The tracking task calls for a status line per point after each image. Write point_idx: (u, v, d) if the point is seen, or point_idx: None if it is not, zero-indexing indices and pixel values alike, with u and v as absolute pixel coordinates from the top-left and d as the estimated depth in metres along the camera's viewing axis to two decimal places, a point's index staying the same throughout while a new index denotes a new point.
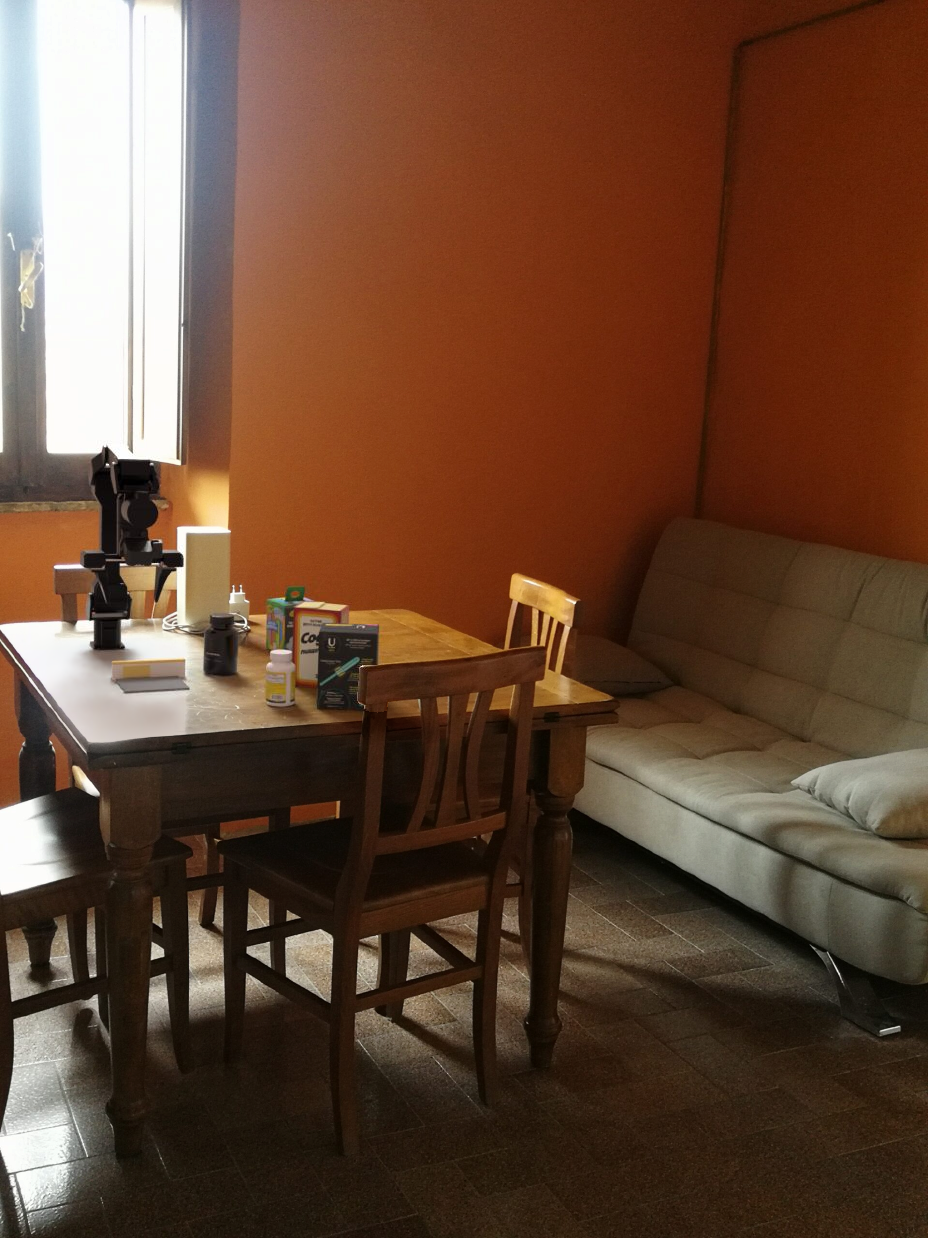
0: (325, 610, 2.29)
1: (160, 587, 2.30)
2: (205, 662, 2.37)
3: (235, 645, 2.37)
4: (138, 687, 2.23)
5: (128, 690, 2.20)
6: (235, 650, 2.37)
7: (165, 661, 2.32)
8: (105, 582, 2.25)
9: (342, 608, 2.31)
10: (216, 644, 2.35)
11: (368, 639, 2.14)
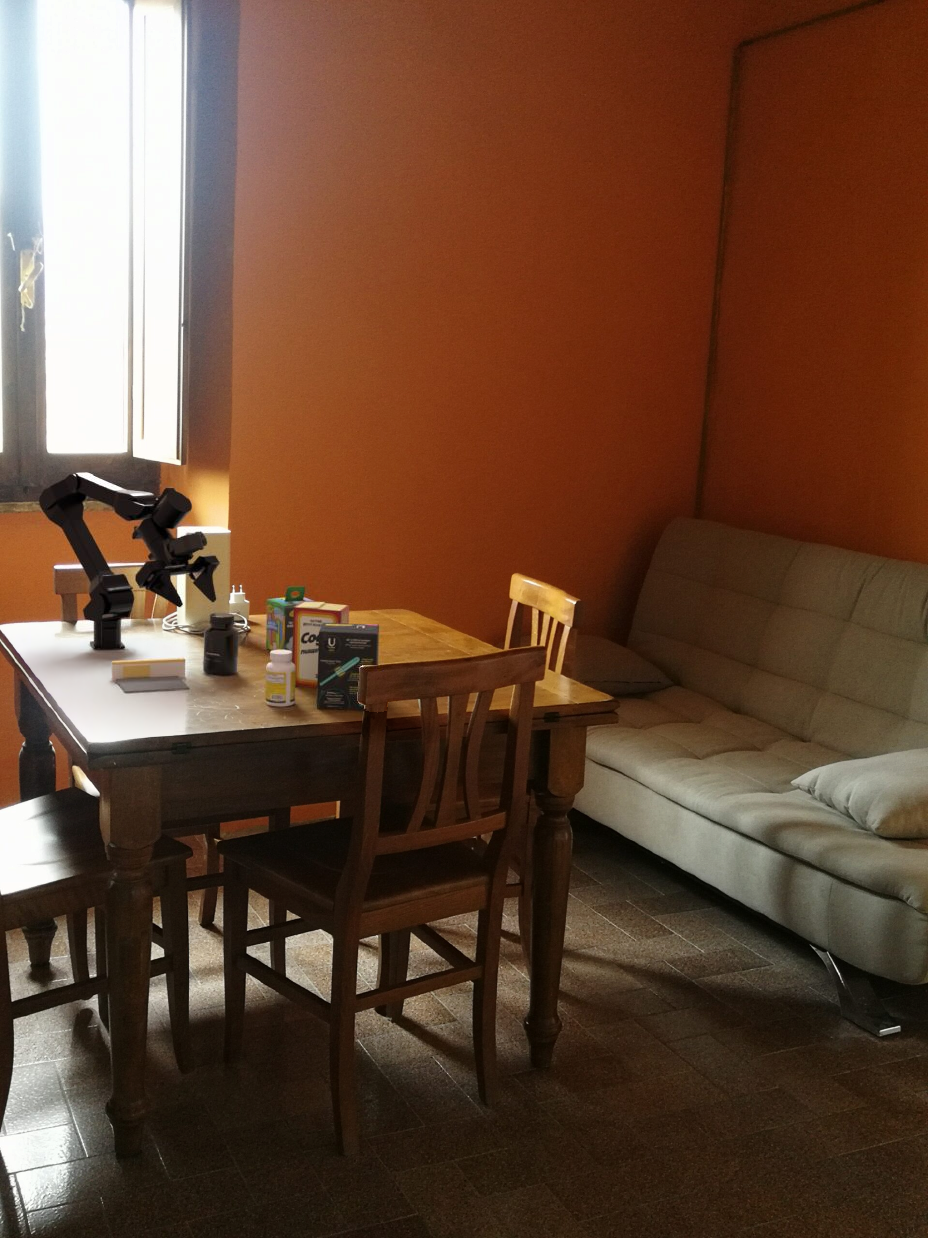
0: (325, 610, 2.29)
1: (212, 585, 2.44)
2: (205, 662, 2.37)
3: (235, 645, 2.37)
4: (138, 687, 2.23)
5: (128, 690, 2.20)
6: (235, 650, 2.37)
7: (165, 661, 2.32)
8: (171, 585, 2.36)
9: (342, 608, 2.31)
10: (216, 644, 2.35)
11: (368, 639, 2.14)
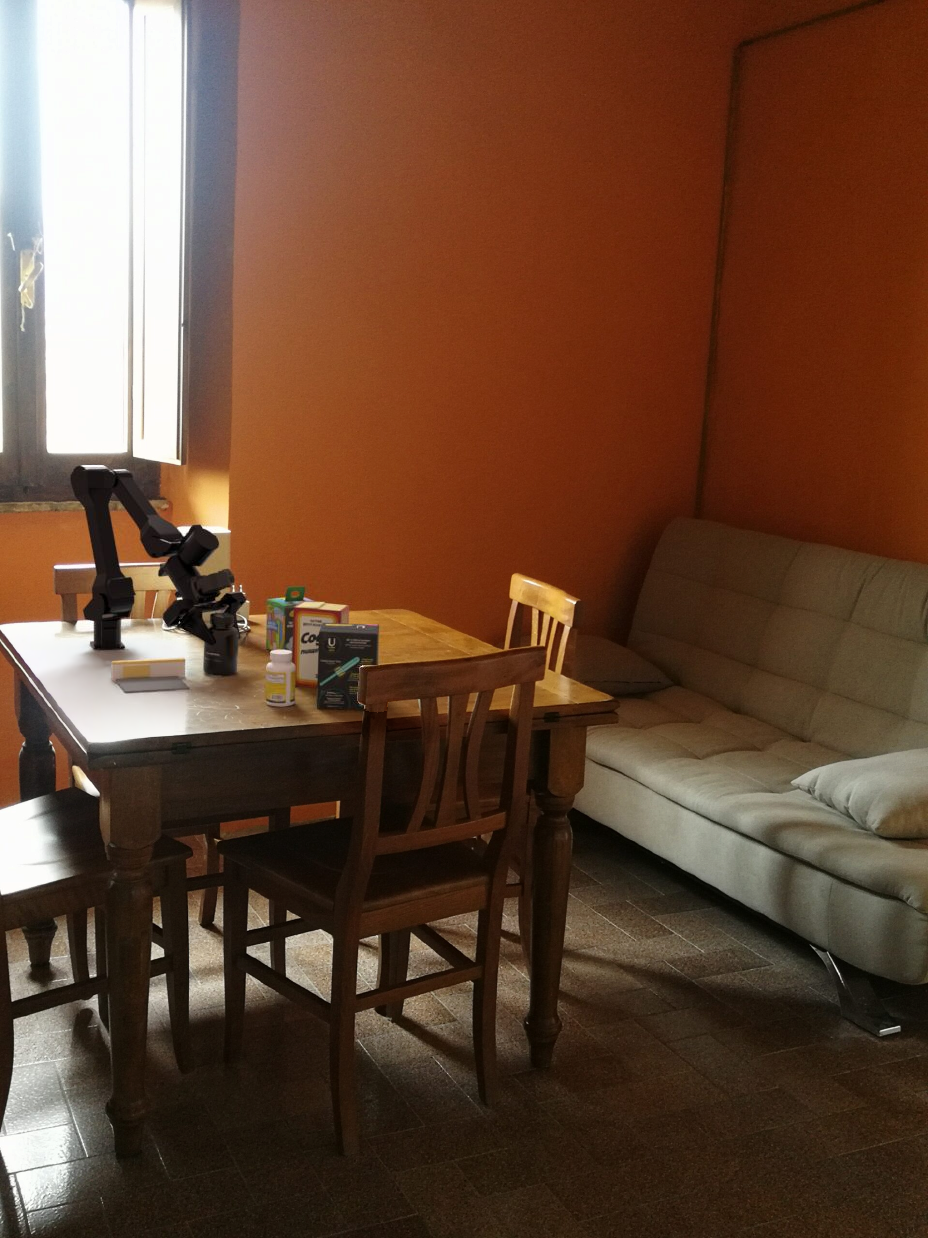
0: (325, 610, 2.29)
1: (236, 623, 2.41)
2: (205, 662, 2.36)
3: (235, 645, 2.37)
4: (138, 687, 2.23)
5: (128, 690, 2.20)
6: (235, 650, 2.37)
7: (165, 661, 2.32)
8: (203, 623, 2.34)
9: (342, 608, 2.31)
10: (216, 644, 2.35)
11: (368, 639, 2.14)
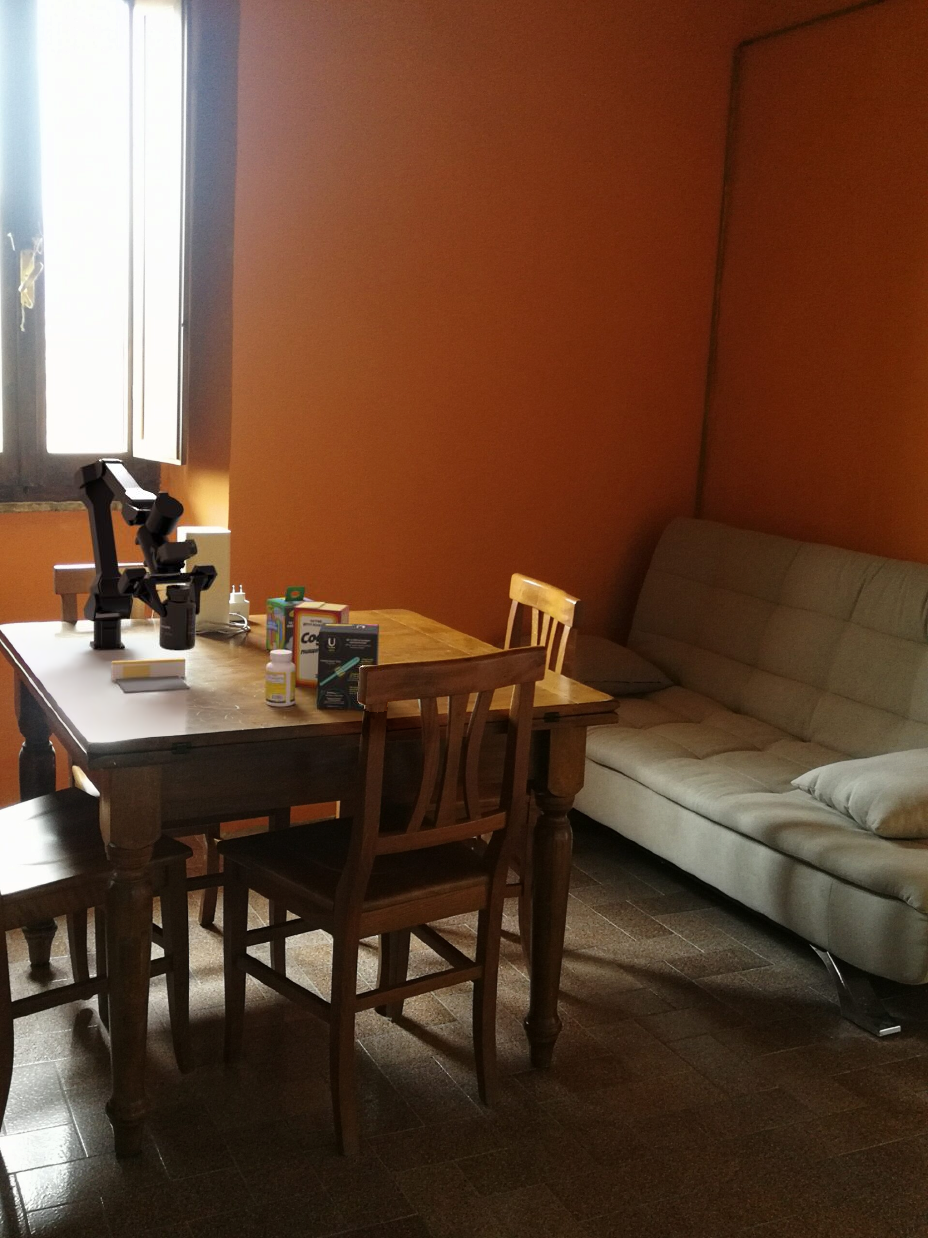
0: (325, 610, 2.29)
1: (198, 597, 2.30)
2: None
3: (189, 619, 2.26)
4: (138, 687, 2.23)
5: (128, 690, 2.20)
6: (189, 625, 2.27)
7: (165, 661, 2.32)
8: (156, 593, 2.25)
9: (342, 608, 2.31)
10: (167, 616, 2.25)
11: (368, 639, 2.14)
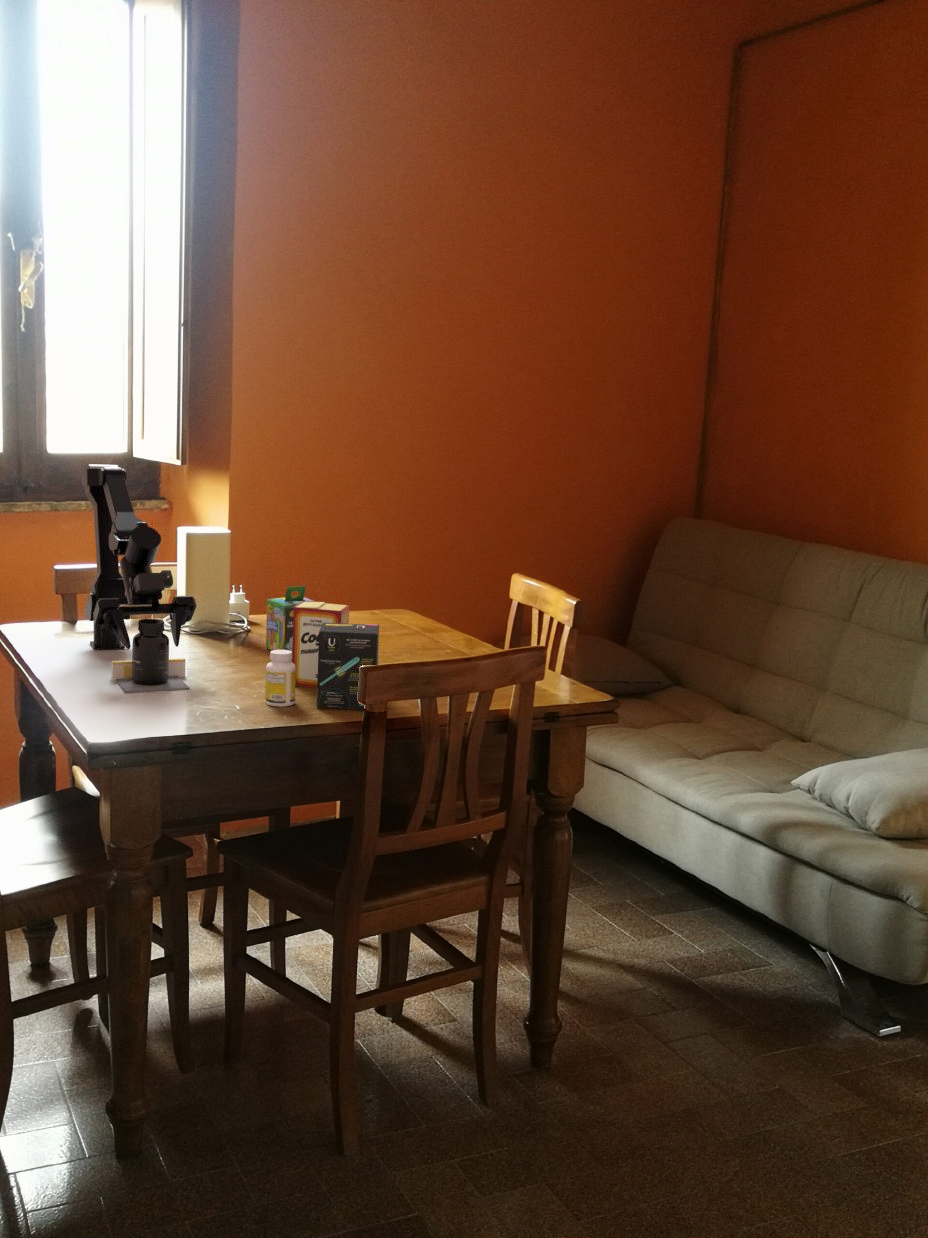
0: (325, 610, 2.29)
1: (178, 628, 2.28)
2: None
3: (159, 654, 2.24)
4: (138, 687, 2.23)
5: (128, 690, 2.20)
6: (159, 660, 2.24)
7: None
8: (123, 625, 2.23)
9: (342, 608, 2.31)
10: (137, 651, 2.23)
11: (368, 639, 2.14)
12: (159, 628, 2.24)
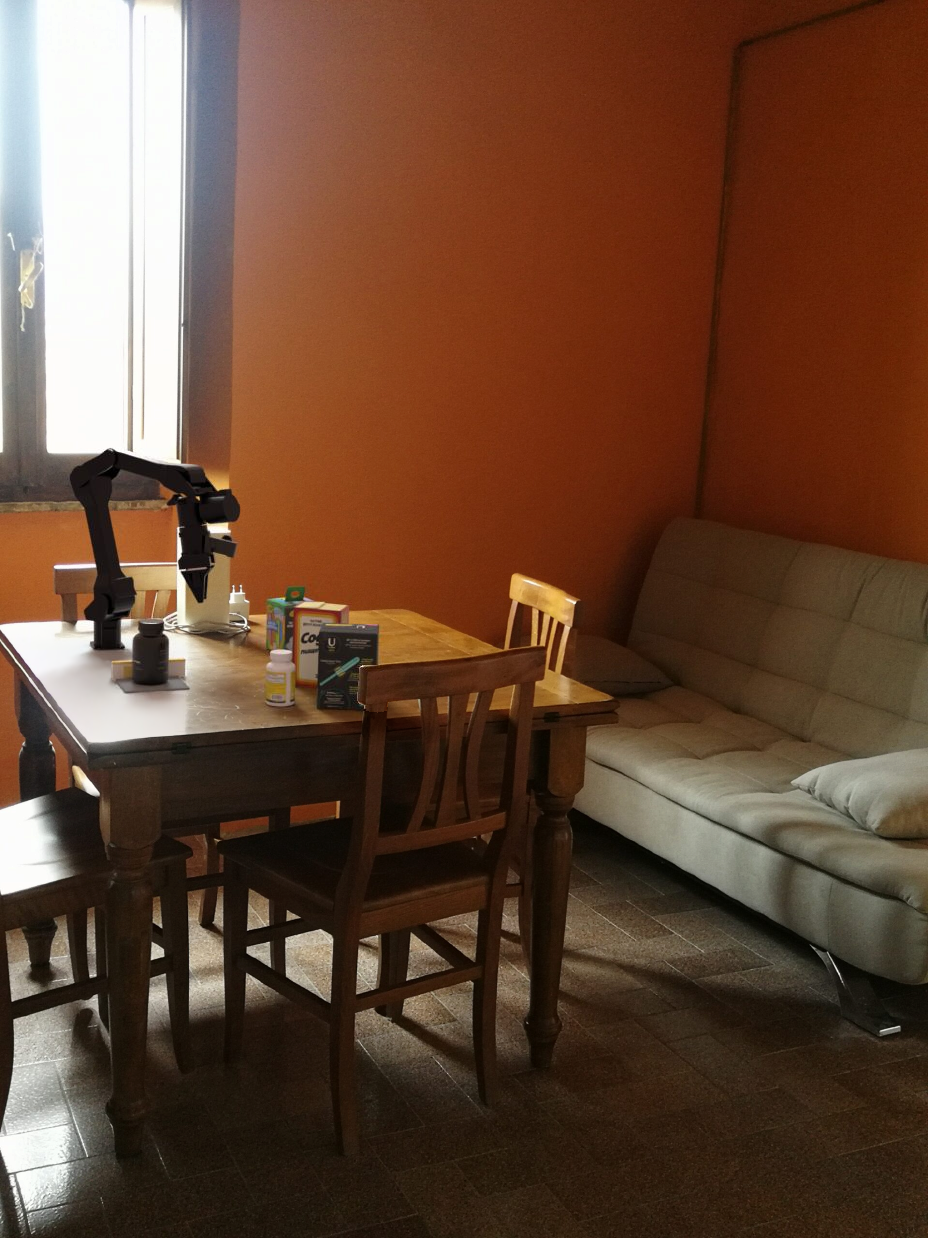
0: (325, 610, 2.29)
1: (207, 584, 2.50)
2: None
3: (159, 654, 2.24)
4: (138, 687, 2.23)
5: (128, 690, 2.20)
6: (159, 660, 2.24)
7: None
8: (204, 581, 2.39)
9: (342, 608, 2.31)
10: (137, 651, 2.23)
11: (368, 639, 2.14)
12: (159, 628, 2.24)
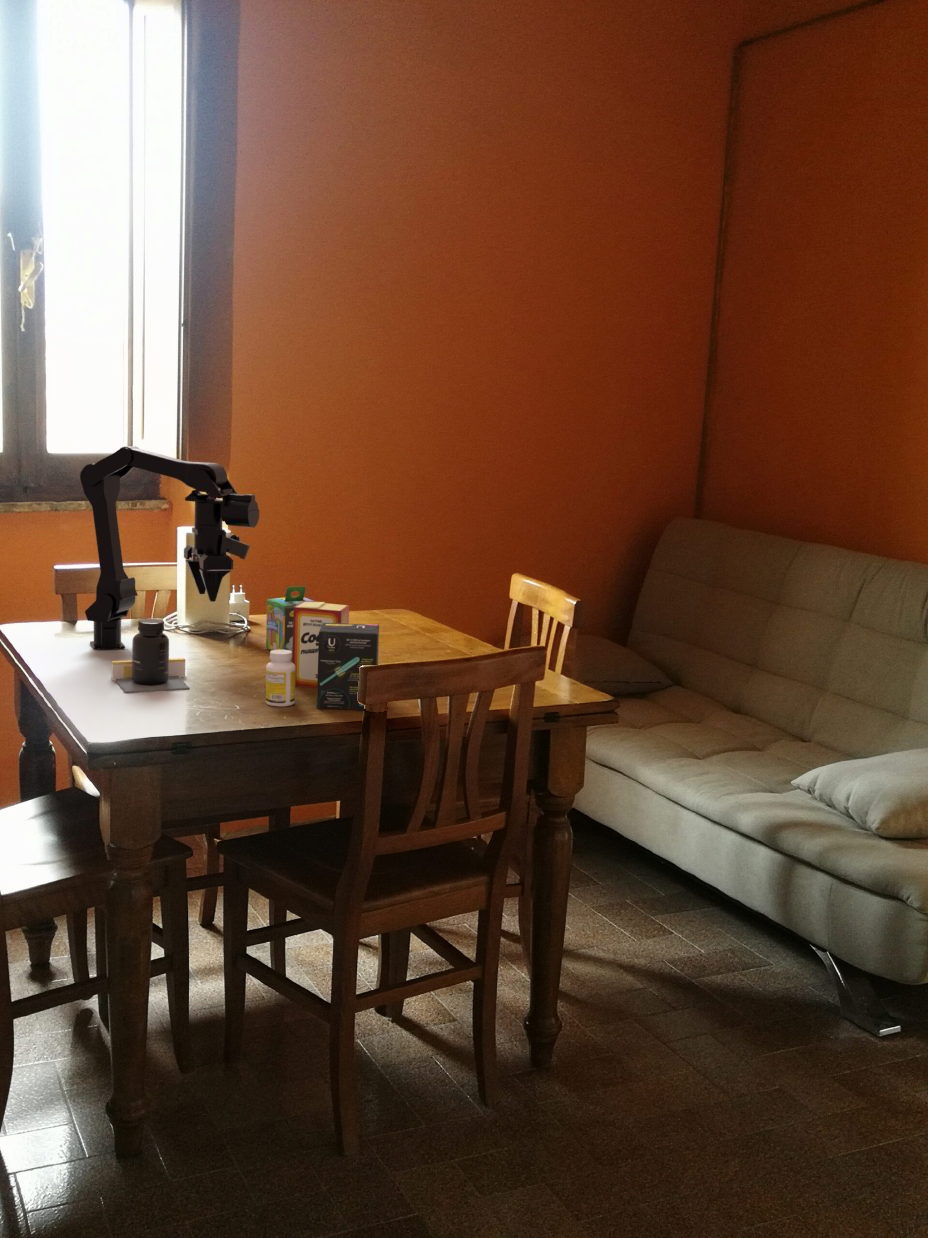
0: (325, 610, 2.29)
1: None
2: None
3: (159, 654, 2.24)
4: (138, 687, 2.23)
5: (128, 690, 2.20)
6: (159, 660, 2.24)
7: None
8: None
9: (342, 608, 2.31)
10: (137, 651, 2.23)
11: (367, 639, 2.14)
12: (159, 628, 2.24)
